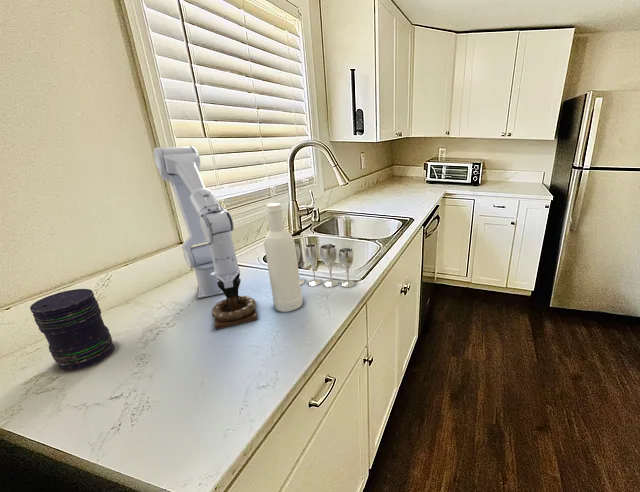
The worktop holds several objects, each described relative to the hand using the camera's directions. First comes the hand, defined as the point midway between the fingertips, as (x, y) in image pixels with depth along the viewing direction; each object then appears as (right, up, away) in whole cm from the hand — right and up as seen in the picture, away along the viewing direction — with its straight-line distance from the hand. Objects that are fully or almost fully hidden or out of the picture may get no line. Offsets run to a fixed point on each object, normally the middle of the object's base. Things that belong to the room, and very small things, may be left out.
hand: (233, 300), depth 93 cm
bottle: (+15, -2, +3) cm, 15 cm away
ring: (+2, -2, -3) cm, 4 cm away
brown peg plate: (+2, -4, -2) cm, 5 cm away
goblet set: (+19, +3, +16) cm, 25 cm away
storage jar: (-24, -10, -18) cm, 32 cm away
